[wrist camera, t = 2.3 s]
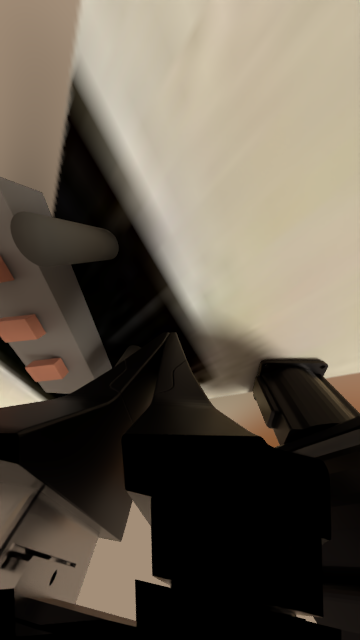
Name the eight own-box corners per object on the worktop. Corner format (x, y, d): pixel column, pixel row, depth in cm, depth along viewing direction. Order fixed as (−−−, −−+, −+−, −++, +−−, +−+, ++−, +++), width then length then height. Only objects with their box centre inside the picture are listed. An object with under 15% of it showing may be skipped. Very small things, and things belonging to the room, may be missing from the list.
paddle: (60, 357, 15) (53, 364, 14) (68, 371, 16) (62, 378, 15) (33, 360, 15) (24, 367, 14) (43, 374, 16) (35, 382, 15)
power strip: (42, 192, 11) (-7, 174, 8) (115, 375, 20) (102, 395, 17) (-38, 206, 12) (-105, 193, 9) (65, 374, 21) (45, 392, 18)
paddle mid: (35, 314, 13) (24, 319, 12) (46, 333, 13) (37, 339, 13) (2, 317, 12) (-11, 322, 12) (16, 336, 13) (5, 342, 12)
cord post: (114, 227, 12) (44, 208, 6) (121, 258, 13) (67, 265, 7) (87, 230, 12) (-1, 214, 7) (97, 260, 13) (28, 268, 8)
